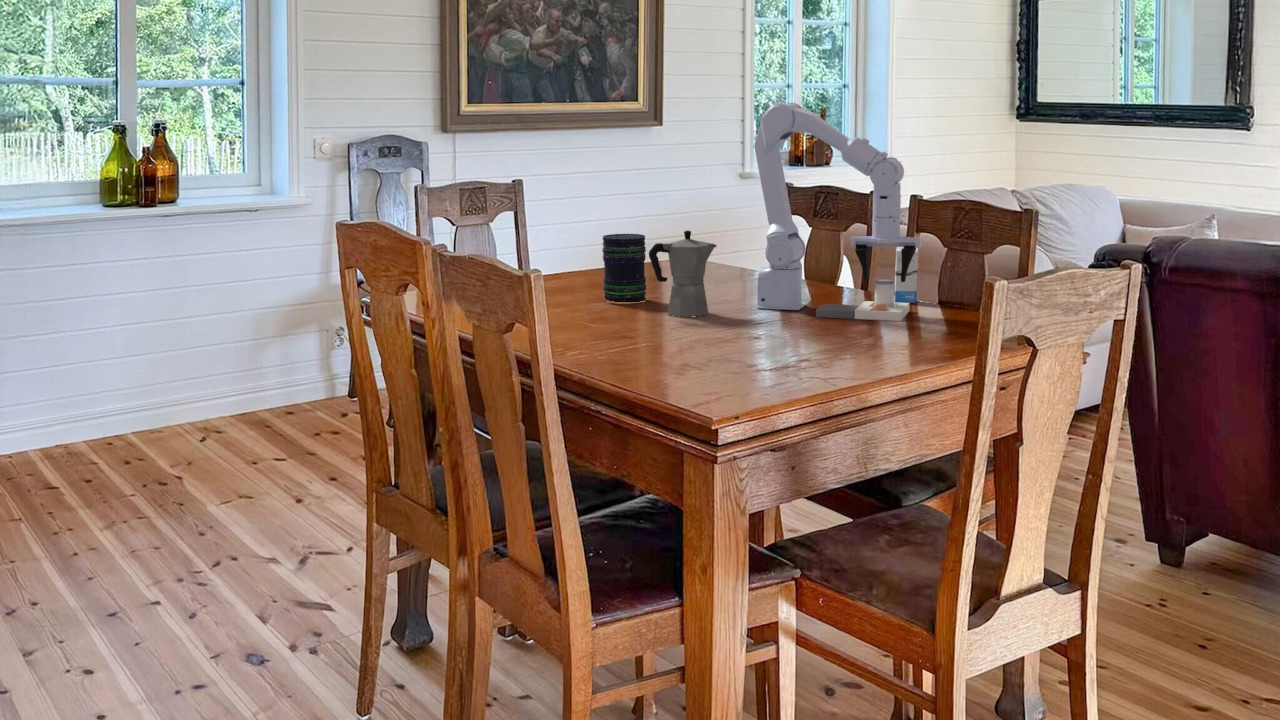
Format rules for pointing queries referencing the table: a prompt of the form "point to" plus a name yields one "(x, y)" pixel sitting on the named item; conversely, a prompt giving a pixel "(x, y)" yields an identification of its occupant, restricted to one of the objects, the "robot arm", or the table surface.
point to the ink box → (907, 289)
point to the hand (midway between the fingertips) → (884, 280)
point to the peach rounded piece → (879, 307)
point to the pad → (836, 311)
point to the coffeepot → (685, 274)
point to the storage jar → (624, 267)
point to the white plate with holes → (882, 312)
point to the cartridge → (884, 292)
